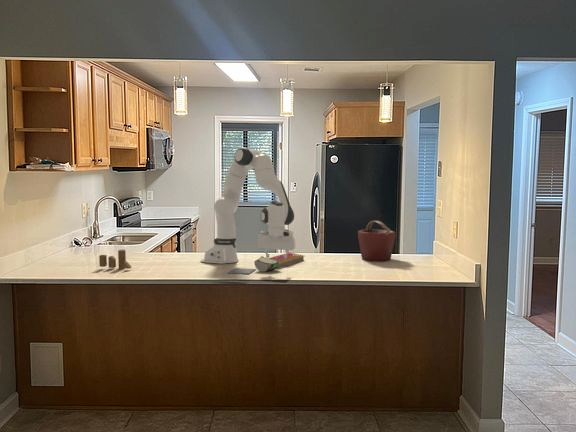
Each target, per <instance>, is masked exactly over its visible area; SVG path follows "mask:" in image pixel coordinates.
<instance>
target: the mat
mask: <svg viewBox="0 0 576 432" xmlns="http://www.w3.org/2000/svg"><path fill="white" fill-rule="evenodd" d="M256 270H257V268H242V267H241V268H237V267H235V268H233V269H230V270H229V271H227V274H229V275H231V274H232V275H247V276H248V275H251V274H252V273H254V272H255V271H256Z"/></svg>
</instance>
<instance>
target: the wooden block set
mask: <svg viewBox="0 0 576 432" xmlns="http://www.w3.org/2000/svg"><path fill="white" fill-rule="evenodd" d="M117 253H118V254H117V256H118V257H117V258H118V260H116V257H115V256H114V255H109V256H107V254H100V255H99V256H98V258H99V259H98V261H99V267H100V268H105V267H107V265H108V269H114V268H116V267H117V263H118V269H119V270H125V269H132V265H131V264H130V263H129V262H128V261H127V260H126V258H127V257H126V256H127V255H126V254H127V253H126V249H118V251H117ZM107 257H108V258H107ZM107 259H108V261H107ZM116 262H117V263H116Z"/></svg>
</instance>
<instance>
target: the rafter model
mask: <svg viewBox="0 0 576 432" xmlns="http://www.w3.org/2000/svg"><path fill="white" fill-rule="evenodd" d="M285 254H286V253H283V254H278V255H274V256H272V257H269V258H270V259H273V260H276V261H280V263H279V265H278V267H277V268H276V269H281V268H287V267H289V265H290V266H291V265H294V264H297V263H300V262H302V261H304V257H306V255H303V254H298V253H294V252H288V254H287V258H283V255H285ZM286 266H287V267H286Z"/></svg>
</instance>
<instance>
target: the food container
mask: <svg viewBox="0 0 576 432" xmlns="http://www.w3.org/2000/svg"><path fill="white" fill-rule="evenodd" d="M270 258H271V257H269V258H266V256H265V257H264V255H261V256H259V258H257V259H256V260H254V262H253V263H254V268H255V269H256V270H258V271H259V272H260V273H266V272H267V271H273V270H275V269H276V268H277V267H278V265H279V263H280V261H276V260H273V259H270Z"/></svg>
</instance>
